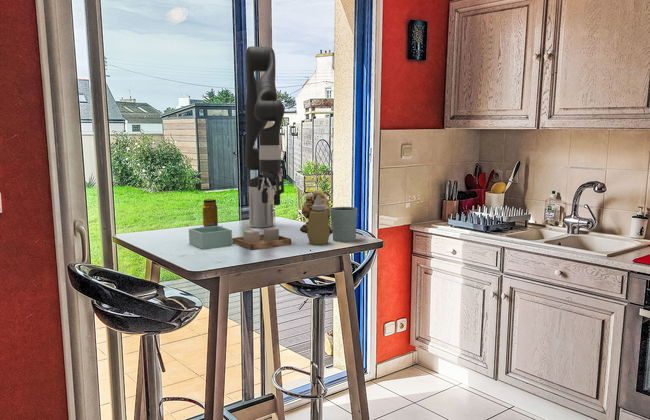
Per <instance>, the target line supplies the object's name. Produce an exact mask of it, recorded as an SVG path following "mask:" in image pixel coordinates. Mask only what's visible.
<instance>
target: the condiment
mask: <svg viewBox="0 0 650 420" xmlns="http://www.w3.org/2000/svg"><path fill="white" fill-rule="evenodd" d="M218 219H219V218H218V205H217V200H216V199H214V198H207V199H204V200H203V206H202V225H203V226H204V227H211V226H220V227H224V225H219V222H218V221H219V220H218ZM203 226H202V227H203Z"/></svg>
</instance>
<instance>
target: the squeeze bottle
mask: <svg viewBox="0 0 650 420" xmlns="http://www.w3.org/2000/svg"><path fill="white" fill-rule="evenodd" d="M312 210H313V211H311V212H310V213H309V219H308V221H309V222H308V221H307V222H308V232H307V234H306V235H307V238H308V241H309V245H312V246H325V245H327V244H328V241H329V239H330V235H331V234H330V231H329V227H330V222H329V221H330V220H329V221H328V212H326V211H324V210H325V205H322V201H321V197H320V195H317V196H316V201H315V205H312Z"/></svg>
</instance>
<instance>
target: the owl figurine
mask: <svg viewBox="0 0 650 420" xmlns="http://www.w3.org/2000/svg"><path fill="white" fill-rule="evenodd" d="M317 195H320V197H321V201H322V205H325V210H324V211H326V212H328V221H330V217H331V212H330V204H329V202H330V201H329V199H328V198H327V196H326V195H325V193H324V192H323V191H321V190H320V189H315V190H313V191H312V193H308V194H306V195H305V196H304V198H305V201H304V202H303V205H302V209H301V214H302V215H303V217H304V218H305V219H307V220H308V221H307V222H305V224H303V225H302V226H300V228H299V231H300V232H301V233H303V234H306V233H307V232H308V222H309V213H310V212H311V211H313V210H312V205H315V201H316V196H317ZM329 231H330V235H332V232H333V231H332V227H330V226H329Z"/></svg>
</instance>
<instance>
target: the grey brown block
mask: <svg viewBox="0 0 650 420" xmlns="http://www.w3.org/2000/svg"><path fill="white" fill-rule="evenodd" d="M263 234H264V242H269V241H276V240H279V236H280V230H279V228H276V227H265V228H263Z"/></svg>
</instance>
